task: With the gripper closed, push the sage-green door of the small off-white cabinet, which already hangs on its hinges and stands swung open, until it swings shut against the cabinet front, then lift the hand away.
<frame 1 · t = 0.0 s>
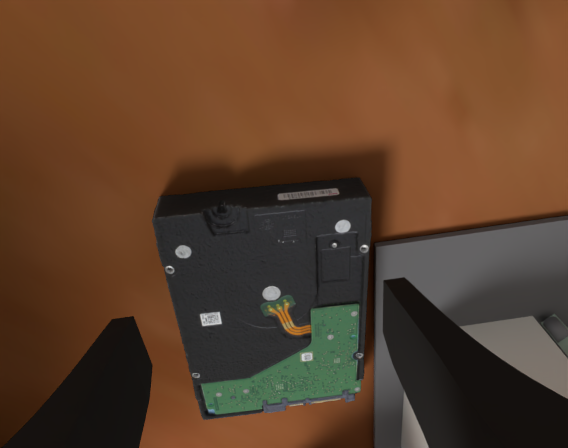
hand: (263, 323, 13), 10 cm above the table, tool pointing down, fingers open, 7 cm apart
cabinet: (460, 387, 31), resting on mat
mat: (513, 374, 31), on the table
disk drive: (270, 291, 26), on the table
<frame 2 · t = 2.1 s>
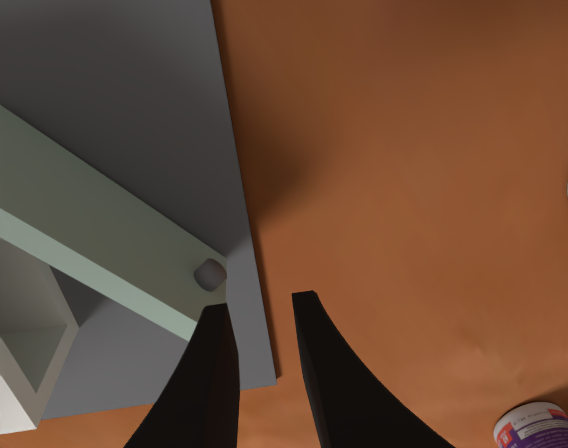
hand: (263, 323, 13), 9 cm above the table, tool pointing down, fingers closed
cabinet door: (105, 220, 17), point 3 cm above the table, hinge at 40.0°
pill bottle: (524, 420, 34), on the table
mat: (37, 230, 21), on the table
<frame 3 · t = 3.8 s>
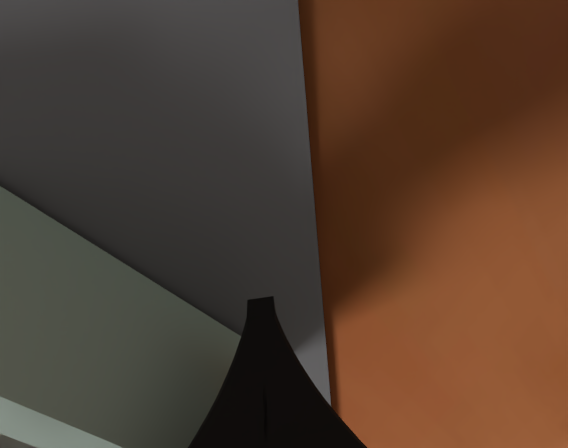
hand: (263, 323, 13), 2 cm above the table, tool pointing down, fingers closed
cabinet door: (132, 347, 12), point 3 cm above the table, hinge at 38.5°, touching gripper
mat: (33, 329, 15), on the table
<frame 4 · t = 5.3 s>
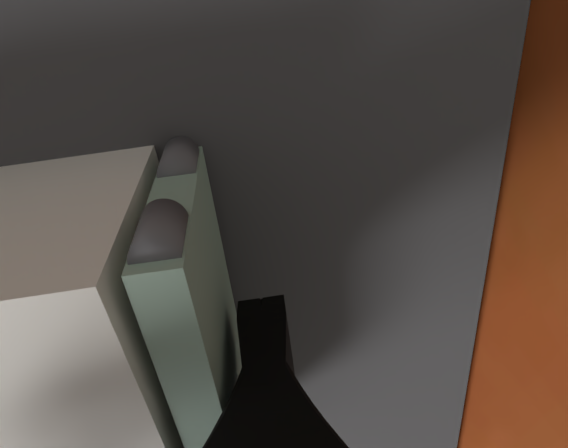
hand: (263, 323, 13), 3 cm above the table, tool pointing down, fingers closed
cabinet door: (231, 368, 12), point 3 cm above the table, hinge at -0.8°, touching gripper
cabinet: (82, 328, 15), resting on mat
mat: (201, 302, 15), on the table
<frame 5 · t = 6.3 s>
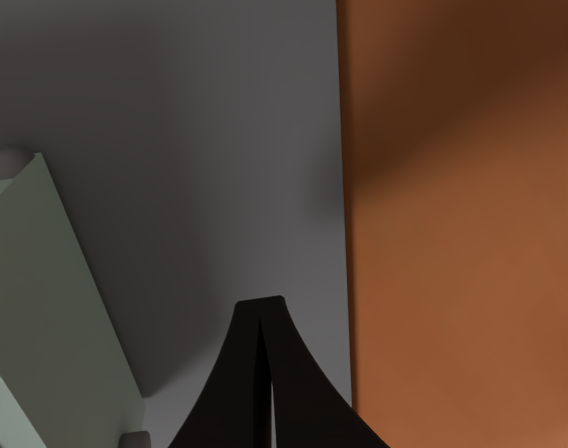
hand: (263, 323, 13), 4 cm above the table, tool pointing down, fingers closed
cabinet door: (74, 360, 13), point 3 cm above the table, hinge at -0.7°
mat: (76, 298, 16), on the table
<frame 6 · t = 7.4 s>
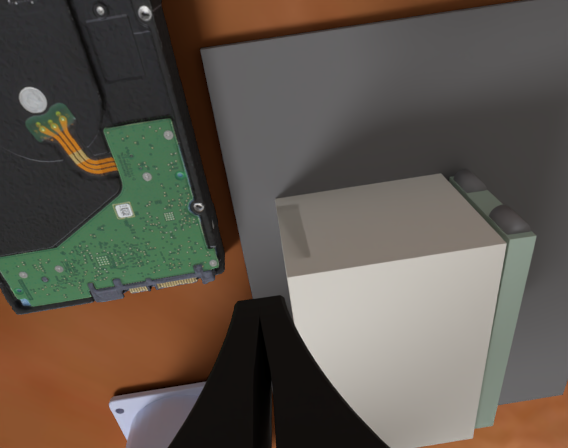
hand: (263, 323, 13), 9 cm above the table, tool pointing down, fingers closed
cabinet door: (480, 301, 21), point 3 cm above the table, hinge at -0.7°
cabinet: (361, 283, 24), resting on mat
mat: (431, 267, 25), on the table
disk drive: (79, 132, 20), on the table
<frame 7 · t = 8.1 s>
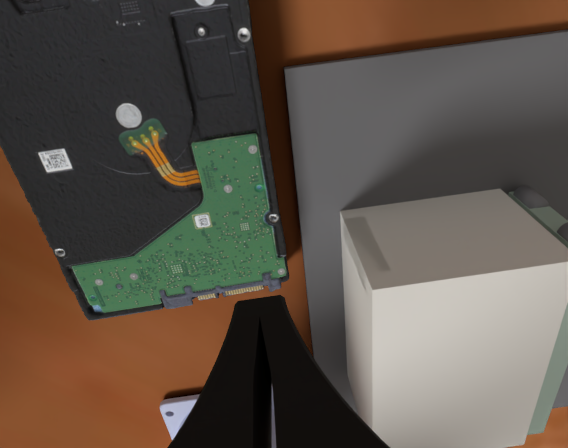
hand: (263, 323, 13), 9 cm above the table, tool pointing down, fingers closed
cabinet door: (535, 312, 22), point 3 cm above the table, hinge at -0.7°
cabinet: (414, 292, 25), resting on mat
mat: (480, 278, 25), on the table
disk drive: (156, 144, 20), on the table
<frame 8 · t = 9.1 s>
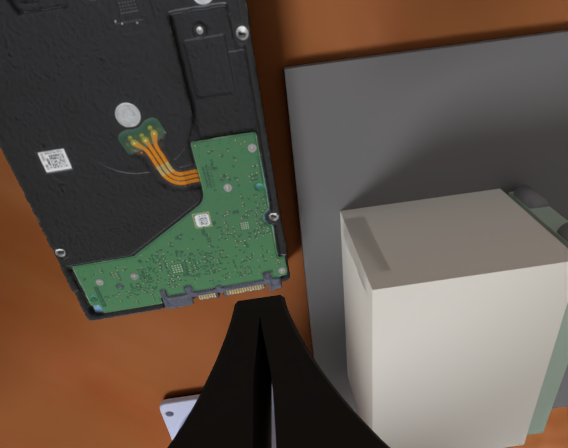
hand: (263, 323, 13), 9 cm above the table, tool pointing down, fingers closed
cabinet door: (535, 312, 22), point 3 cm above the table, hinge at -0.7°
cabinet: (414, 292, 25), resting on mat
mat: (480, 278, 25), on the table
disk drive: (156, 143, 20), on the table
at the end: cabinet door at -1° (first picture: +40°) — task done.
